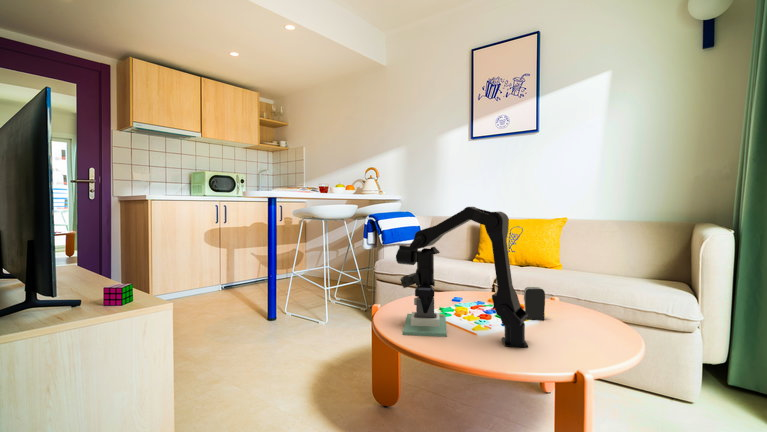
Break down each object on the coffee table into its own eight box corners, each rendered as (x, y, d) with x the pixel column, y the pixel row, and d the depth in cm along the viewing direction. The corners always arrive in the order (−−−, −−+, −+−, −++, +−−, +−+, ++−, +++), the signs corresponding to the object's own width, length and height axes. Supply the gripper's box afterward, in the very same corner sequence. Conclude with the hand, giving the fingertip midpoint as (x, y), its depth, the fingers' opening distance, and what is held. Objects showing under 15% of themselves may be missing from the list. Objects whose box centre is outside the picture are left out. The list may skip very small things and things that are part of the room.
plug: (434, 321, 125) (434, 300, 125) (414, 320, 126) (413, 299, 126) (434, 317, 129) (434, 297, 129) (414, 316, 130) (414, 297, 130)
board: (446, 336, 117) (446, 325, 117) (402, 334, 119) (402, 324, 119) (445, 317, 137) (445, 308, 137) (407, 316, 139) (407, 306, 139)
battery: (542, 317, 136) (542, 286, 136) (545, 320, 133) (545, 288, 132) (522, 316, 138) (522, 285, 137) (524, 319, 134) (525, 288, 133)
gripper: (404, 261, 138) (404, 303, 138) (399, 270, 119) (399, 318, 120) (434, 262, 136) (434, 304, 136) (434, 271, 117) (434, 320, 118)
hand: (425, 311), depth 128 cm, fingers open, 4 cm apart
